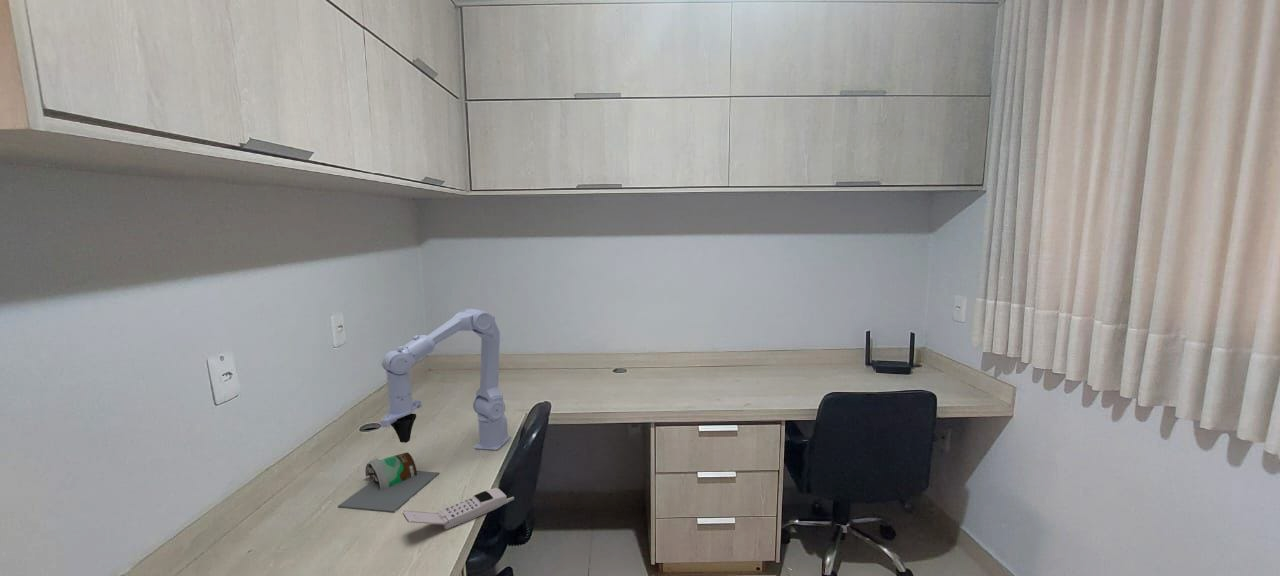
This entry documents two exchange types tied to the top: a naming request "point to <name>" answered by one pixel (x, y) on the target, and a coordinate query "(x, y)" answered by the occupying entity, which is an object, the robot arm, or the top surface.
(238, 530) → the top surface
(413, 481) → the charcoal mat
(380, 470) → the food container
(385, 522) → the top surface
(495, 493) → the mobile phone
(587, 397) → the top surface
